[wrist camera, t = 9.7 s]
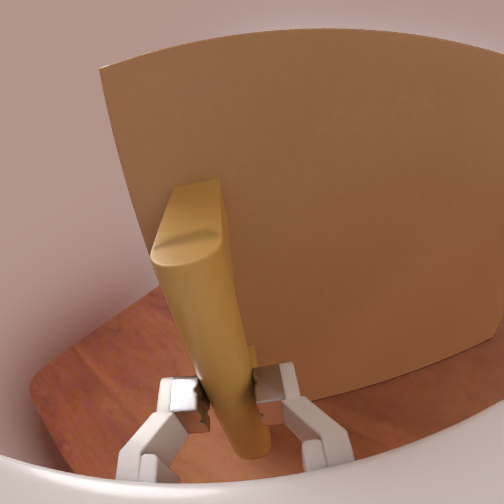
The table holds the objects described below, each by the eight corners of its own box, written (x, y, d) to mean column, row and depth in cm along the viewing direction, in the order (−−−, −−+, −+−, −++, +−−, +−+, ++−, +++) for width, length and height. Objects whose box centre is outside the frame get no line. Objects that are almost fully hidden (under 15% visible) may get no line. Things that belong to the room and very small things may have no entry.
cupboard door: (527, 384, 17) (619, 91, 5) (222, 492, 16) (6, 66, 4) (488, 330, 23) (535, 67, 11) (216, 407, 23) (106, 69, 11)
